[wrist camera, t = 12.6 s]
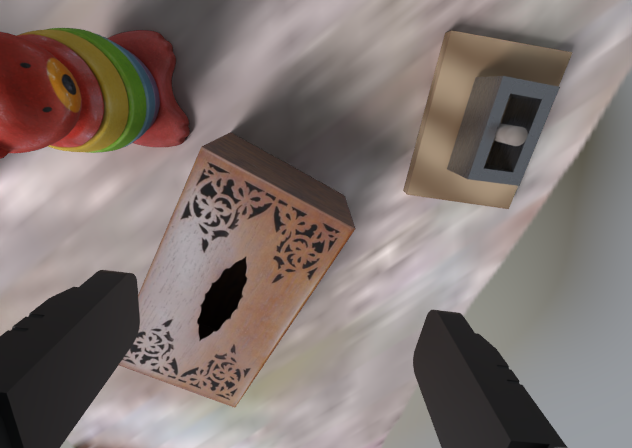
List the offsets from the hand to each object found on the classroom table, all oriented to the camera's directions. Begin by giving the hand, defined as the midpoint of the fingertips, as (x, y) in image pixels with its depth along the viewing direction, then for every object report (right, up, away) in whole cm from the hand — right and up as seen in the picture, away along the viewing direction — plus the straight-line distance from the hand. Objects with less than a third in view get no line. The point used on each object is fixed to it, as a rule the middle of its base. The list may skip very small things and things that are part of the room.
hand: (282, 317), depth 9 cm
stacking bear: (-18, +16, +24) cm, 34 cm away
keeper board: (+18, +13, +25) cm, 34 cm away
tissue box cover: (-8, -1, +31) cm, 32 cm away
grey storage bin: (+18, +12, +24) cm, 32 cm away
